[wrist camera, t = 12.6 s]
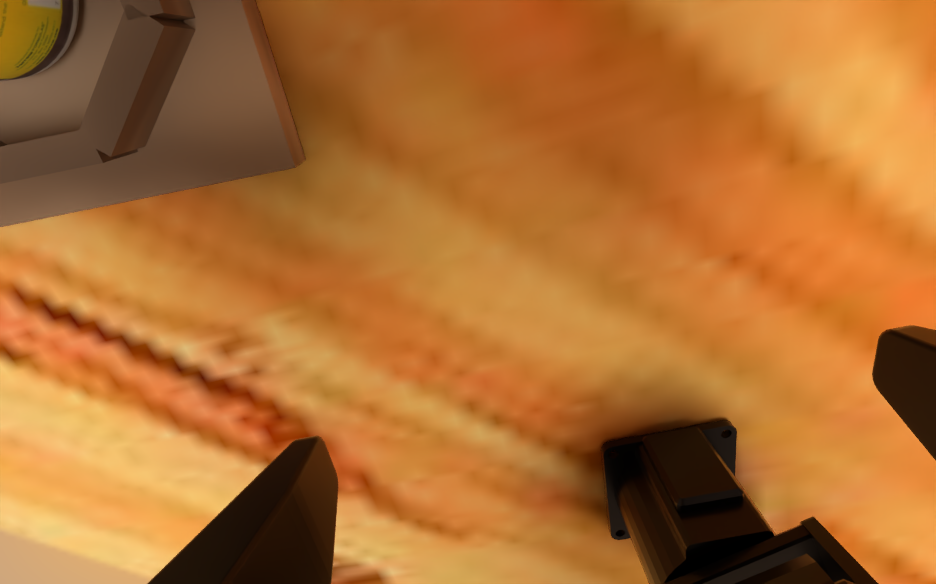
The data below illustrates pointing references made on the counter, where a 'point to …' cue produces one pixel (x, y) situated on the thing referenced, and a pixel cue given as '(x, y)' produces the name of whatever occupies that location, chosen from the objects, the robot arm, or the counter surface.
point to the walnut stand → (144, 109)
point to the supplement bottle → (34, 35)
